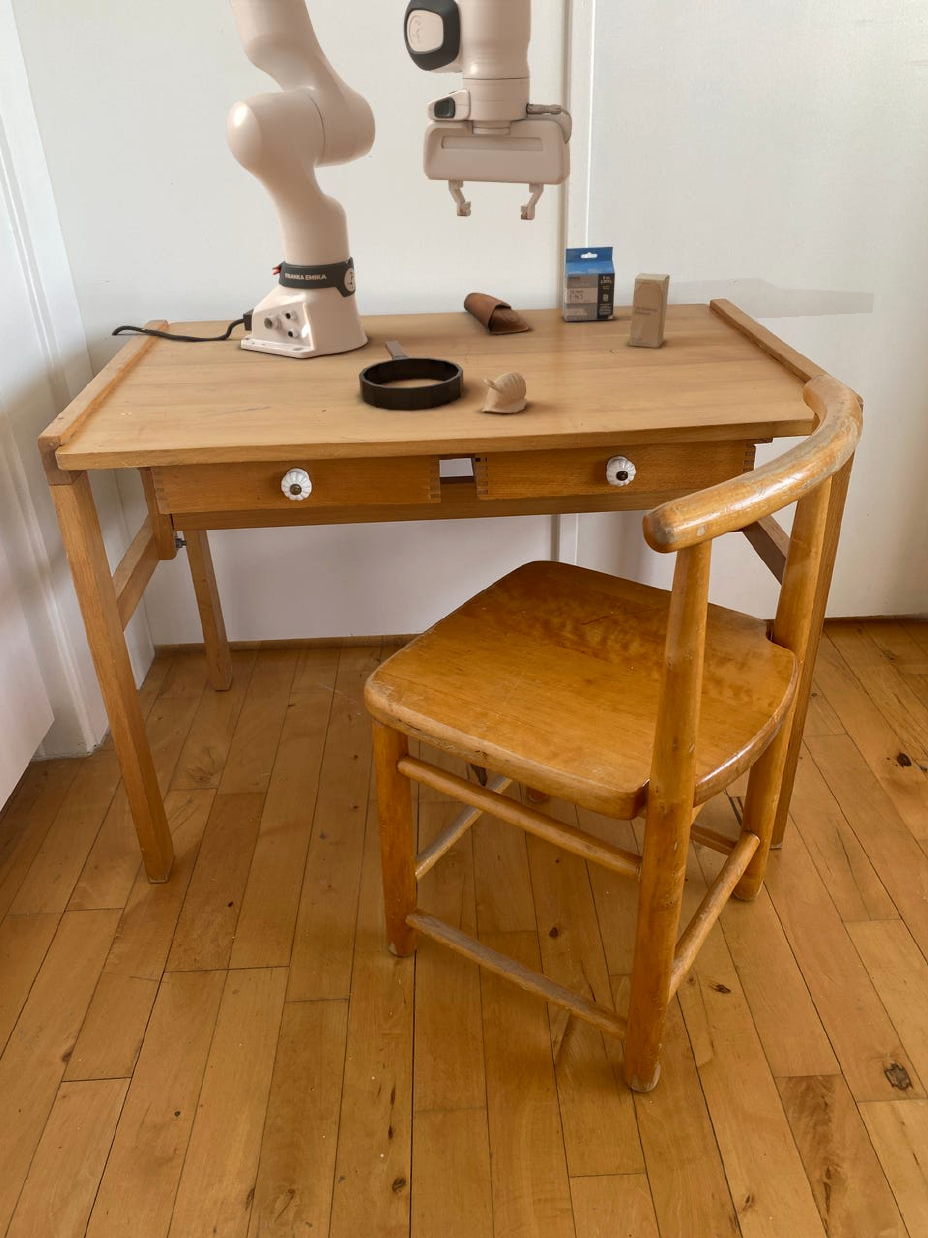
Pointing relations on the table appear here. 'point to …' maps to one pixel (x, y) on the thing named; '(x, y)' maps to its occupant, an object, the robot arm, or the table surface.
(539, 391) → the table surface
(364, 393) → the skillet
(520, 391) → the decorative ornament
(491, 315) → the sunglasses case
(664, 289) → the box
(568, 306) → the label tape box
